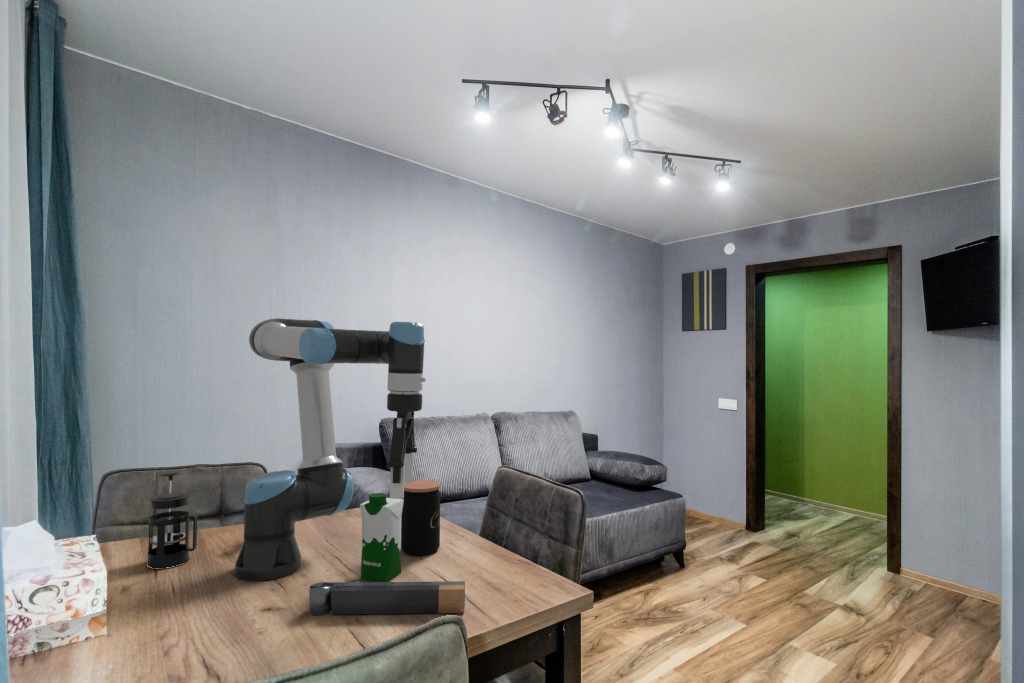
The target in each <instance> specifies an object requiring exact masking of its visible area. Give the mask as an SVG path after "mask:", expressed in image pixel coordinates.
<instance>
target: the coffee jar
mask: <svg viewBox="0 0 1024 683" xmlns="http://www.w3.org/2000/svg"><path fill="white" fill-rule="evenodd" d="M440 488H441V483H440V482H438V481H435V480H428V479H427V480H425V479H424V480H413V482H404V498H403V500H404V502H403V508H402V515H401V551H402V552H403V553H404V554H405V555H407V556H410V557H411V556H412V557H423V556H424V557H425V556H429V555H433V554H435V553H437V551H438V549H439V548H440V546H441V543H440V542H441V540H440V539H441V538H440V537H441V491H440Z"/></svg>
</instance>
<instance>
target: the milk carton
mask: <svg viewBox="0 0 1024 683" xmlns="http://www.w3.org/2000/svg"><path fill="white" fill-rule="evenodd" d="M403 502H404V500H403V499H390V497H387V494H386V493H383V492H380V493H379V492H376V493H371V494H369V496H368V500H366V501H364V502H363V503H360V504H359V508H360V513H361V558H360V559H361V560H360V561H361V564H360V580H362V581H365V582H391V581H392V580H393V579H394V578H395V577H397V576H399V575H400V574H401V573H402V558H401V553H402V552H401V551H402V549H401V515H402V508H403Z"/></svg>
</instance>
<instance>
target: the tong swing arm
mask: <svg viewBox="0 0 1024 683" xmlns="http://www.w3.org/2000/svg"><path fill="white" fill-rule="evenodd" d="M464 588H465V589H466V584H465V585H440V586H370V587H334V589H333V590H332V611H331V615H359V614H360V615H369V614H370V615H374V614H375V615H376V614H377V615H378V614H379V615H381V614H385V615H386V614H464V613H465V608H464Z"/></svg>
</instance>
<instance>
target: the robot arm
mask: <svg viewBox="0 0 1024 683" xmlns="http://www.w3.org/2000/svg"><path fill="white" fill-rule="evenodd" d="M248 343H249V345H250V346H249V347H250V348H251V350H252V351H253V353H254V354H255V355H256V356H259V357H260V358H262V359H265V360H270V361H275V362H278V361H279V362H288V363H289V370H290V371H292V372H293V373H294V374H295V375H296V376H295V377H296V385H297V398H298V399H297V400H298V412H299V414H298V416H299V426H300V427H299V428H300V439H301V453H302V462H301V463H300V464H299V465H298V467H297V475H296V472H295V471H293V470H280V471H278V470H276V471H270V472H266V473H263V474H260V475H257V476H255V477H253V478H252V479H250V480H249V481H248V482H246V485H245V491H244V498H243V503H244V505H243V506H244V511H243V512H244V513H243V515H244V516H243V541H242V544H241V547H240V550H239V553H238V555H237V558H236V561H235V565H234V576H235V577H237V578H238V579H240V580H243V581H244V580H245V581H255V582H256V581H257V582H258V581H269V580H273V579H279V578H283V577H285V576H288V575H291V574H293V573H295V572H296V571H298V570H299V569H300V568H301V567H302V554H301V552H300V548H299V545H298V541H297V539H296V535H295V528H296V527H295V525H296V523H297V522H300V521H306V520H311V519H316V518H322V517H325V516H332V515H334V514H338V513H341V512H343V511H345V510H346V509H347V508H348V507H349V506H350V503H351V501H352V500H353V499H352V498H353V495H354V486H355V485H354V484H355V483H354V478H353V475H352V472H351V471H350V469H348V468H345V467H344V465H343V464H344V462H343V460H341V459H340V458H339V457H338V455H337V452H336V451H337V450H336V449H337V448H336V439H335V425H334V418H333V417H334V416H333V415H334V414H333V404H332V395H331V394H332V393H331V381H330V370H331V369H332V368H333V367H334V366H335V364H377V365H379V364H380V365H381V364H382V365H383V364H384V365H388V367H387V368H388V370H387V388H386V389H387V391H389V392H388V394H386V396H387V397H386V408H387V410H388V411H389V412H396V417H393V419H392V424H393V425H392V433H391V434H392V437H391V443H390V444H391V445H390V453H389V454H390V455H389V461H388V462H386V467H387V468H390V475H389V476H390V483H389V498H390V499H403V498H404V483H406V482H413V481H414V455H415V453H416V454H417V453H418V448H417V447H416V439H415V412H421V410H422V408H423V395H422V393H420V392H421V391H423V383H424V382H426V378H425V377H423V375H424V374H423V373H424V371H423V370H424V359H425V358H424V357H425V354H424V353H425V327H424V325H423V324H422V323H420V322H412V321H393V322H391V323H390V325H389V330H387V331H386V330H365V329H364V330H363V329H345V328H341V329H339V328H336V327H335V326H334V325H333V324H332V323H330V322H328V321H323V320H322V321H321V320H317V319H310V320H309V319H308V320H307V319H292V318H289V319H288V318H270V319H266V320H263V321H261V322H259V323H257V324H256V325H255V326H254V327H252V330H251V331H250V333H249V337H248Z"/></svg>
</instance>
